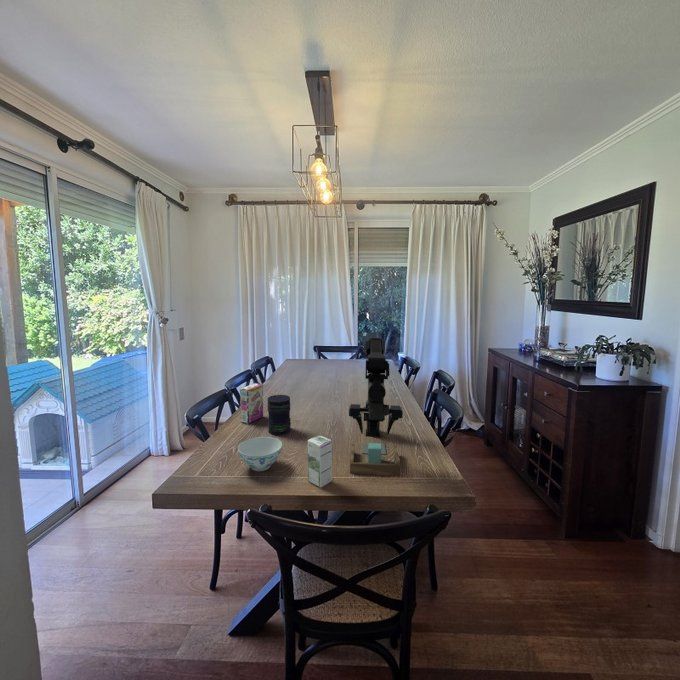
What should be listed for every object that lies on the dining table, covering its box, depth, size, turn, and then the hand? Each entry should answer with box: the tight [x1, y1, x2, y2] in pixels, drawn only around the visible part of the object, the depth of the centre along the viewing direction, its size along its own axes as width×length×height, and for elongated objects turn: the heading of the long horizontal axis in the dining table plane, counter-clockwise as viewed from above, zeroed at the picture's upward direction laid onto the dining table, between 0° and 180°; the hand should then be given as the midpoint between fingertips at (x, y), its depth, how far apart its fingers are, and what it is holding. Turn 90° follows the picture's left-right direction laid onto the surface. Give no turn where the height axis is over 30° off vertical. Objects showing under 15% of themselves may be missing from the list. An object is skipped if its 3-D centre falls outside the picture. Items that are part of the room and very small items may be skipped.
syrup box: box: [307, 434, 333, 489], centre depth 114 cm, size 6×6×14 cm
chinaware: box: [237, 436, 283, 472], centre depth 124 cm, size 15×15×8 cm
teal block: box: [367, 442, 382, 463], centre depth 128 cm, size 4×4×6 cm
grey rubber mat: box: [361, 442, 387, 456], centre depth 138 cm, size 9×9×1 cm
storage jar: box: [267, 394, 292, 436], centre depth 154 cm, size 10×10×15 cm
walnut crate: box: [349, 443, 401, 476], centre depth 127 cm, size 15×17×4 cm
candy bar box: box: [239, 382, 264, 425], centre depth 167 cm, size 11×5×16 cm, turn 154°
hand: (374, 433), depth 127 cm, fingers open, 9 cm apart
